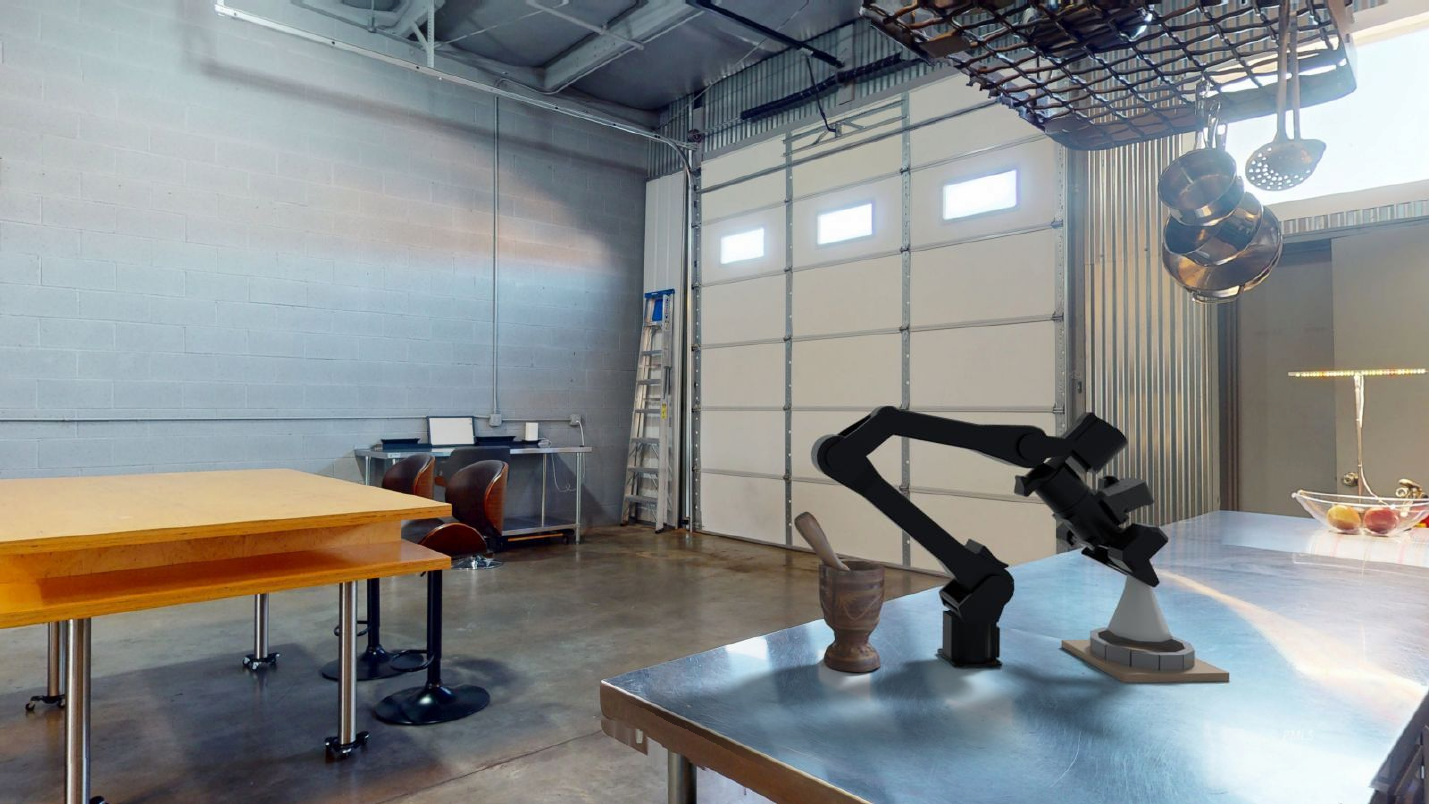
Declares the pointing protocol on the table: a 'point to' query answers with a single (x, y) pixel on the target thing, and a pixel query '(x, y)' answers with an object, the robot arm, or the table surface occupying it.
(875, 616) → the mortar and pestle
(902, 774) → the table surface
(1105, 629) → the duct collar
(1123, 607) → the flask
